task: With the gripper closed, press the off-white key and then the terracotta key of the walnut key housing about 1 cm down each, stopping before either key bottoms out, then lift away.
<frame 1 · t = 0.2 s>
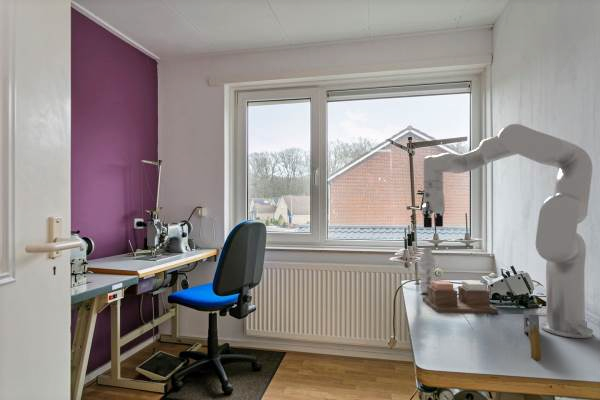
hand: (433, 227, 142), 30 cm above the table, tool pointing down, fingers open, 9 cm apart
offwhite key: (473, 289, 133), point 7 cm above the table, slide at 0.0 cm
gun: (532, 344, 97), on the table
key housing: (458, 306, 133), on the table
plastic bottle: (427, 294, 153), on the table
terracotta key: (442, 288, 134), point 7 cm above the table, slide at 0.0 cm
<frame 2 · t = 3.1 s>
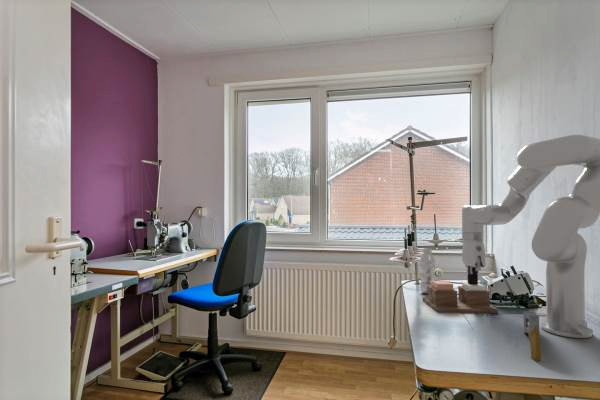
hand: (472, 283, 133), 9 cm above the table, tool pointing down, fingers closed
offwhite key: (473, 290, 133), point 6 cm above the table, slide at 0.6 cm, touching gripper
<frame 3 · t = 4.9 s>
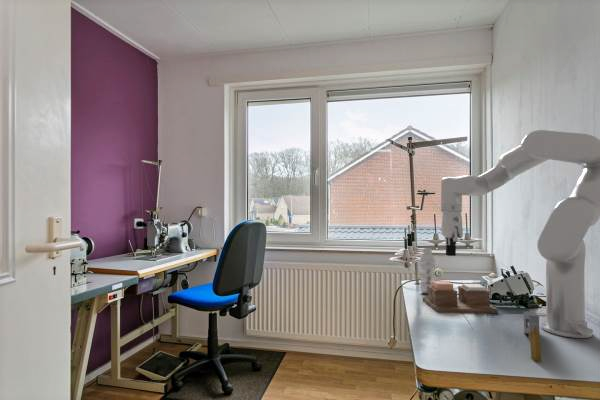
hand: (450, 255, 134), 20 cm above the table, tool pointing down, fingers closed
offwhite key: (473, 292, 133), point 6 cm above the table, slide at 1.1 cm
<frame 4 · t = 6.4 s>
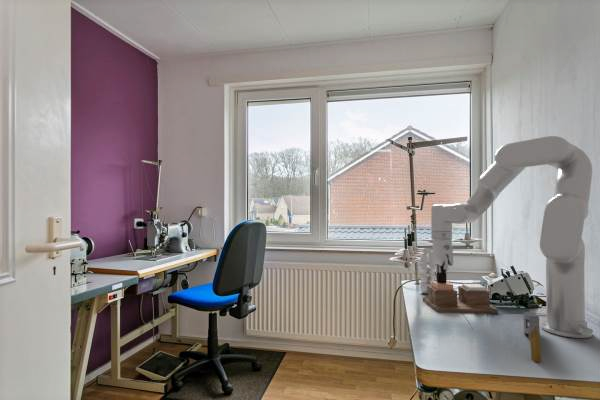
hand: (441, 282, 134), 9 cm above the table, tool pointing down, fingers closed
terracotta key: (442, 289, 134), point 7 cm above the table, slide at 0.2 cm, touching gripper
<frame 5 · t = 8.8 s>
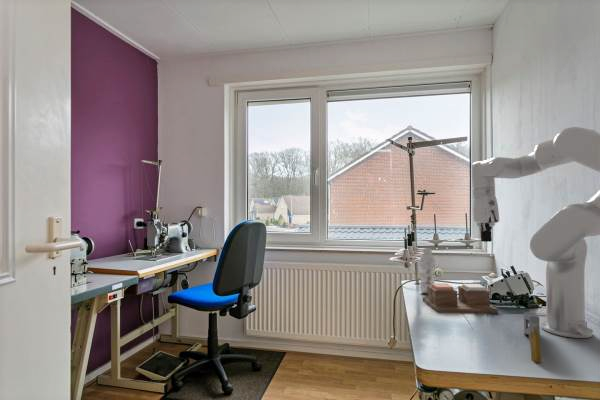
hand: (486, 241, 130), 26 cm above the table, tool pointing down, fingers closed
terracotta key: (442, 291, 133), point 6 cm above the table, slide at 1.1 cm
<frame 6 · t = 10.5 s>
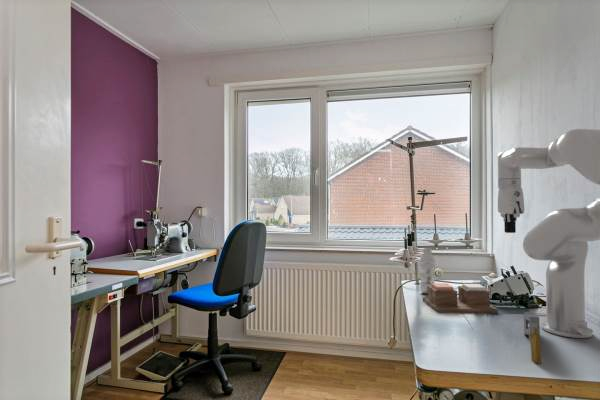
hand: (510, 232, 129), 29 cm above the table, tool pointing down, fingers closed
at the end: offwhite key slide at 1.1 cm; terracotta key slide at 1.1 cm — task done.
